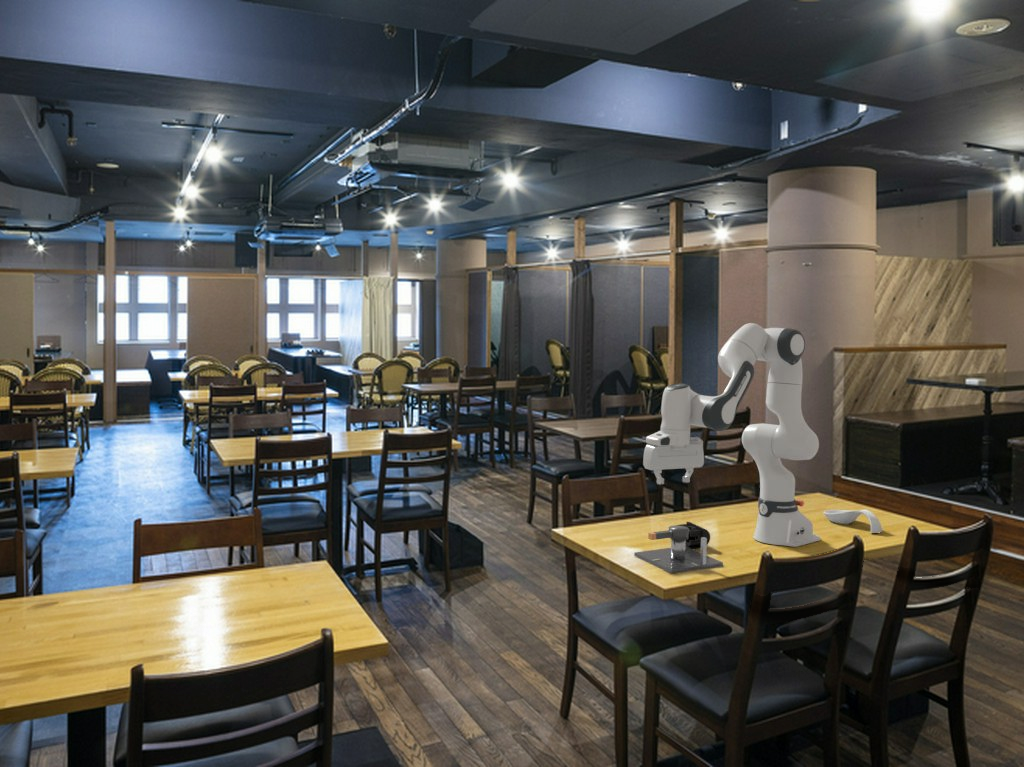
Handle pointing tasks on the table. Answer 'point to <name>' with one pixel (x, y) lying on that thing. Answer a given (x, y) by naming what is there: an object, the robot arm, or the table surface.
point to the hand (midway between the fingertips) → (673, 483)
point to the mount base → (676, 563)
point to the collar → (671, 533)
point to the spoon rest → (853, 518)
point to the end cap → (695, 535)
